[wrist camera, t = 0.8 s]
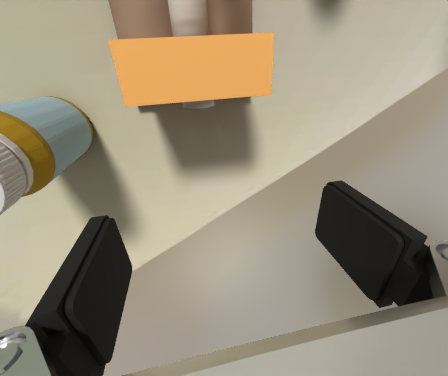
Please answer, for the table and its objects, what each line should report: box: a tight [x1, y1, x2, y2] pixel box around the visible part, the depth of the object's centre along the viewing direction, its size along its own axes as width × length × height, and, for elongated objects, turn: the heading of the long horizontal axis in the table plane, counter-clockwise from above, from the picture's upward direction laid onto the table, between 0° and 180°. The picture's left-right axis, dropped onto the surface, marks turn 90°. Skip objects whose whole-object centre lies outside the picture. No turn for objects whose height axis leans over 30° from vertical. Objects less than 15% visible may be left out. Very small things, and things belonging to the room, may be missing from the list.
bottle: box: [0, 96, 93, 215], centre depth 19 cm, size 7×7×15 cm
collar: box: [108, 32, 274, 107], centre depth 19 cm, size 11×4×9 cm, turn 94°
